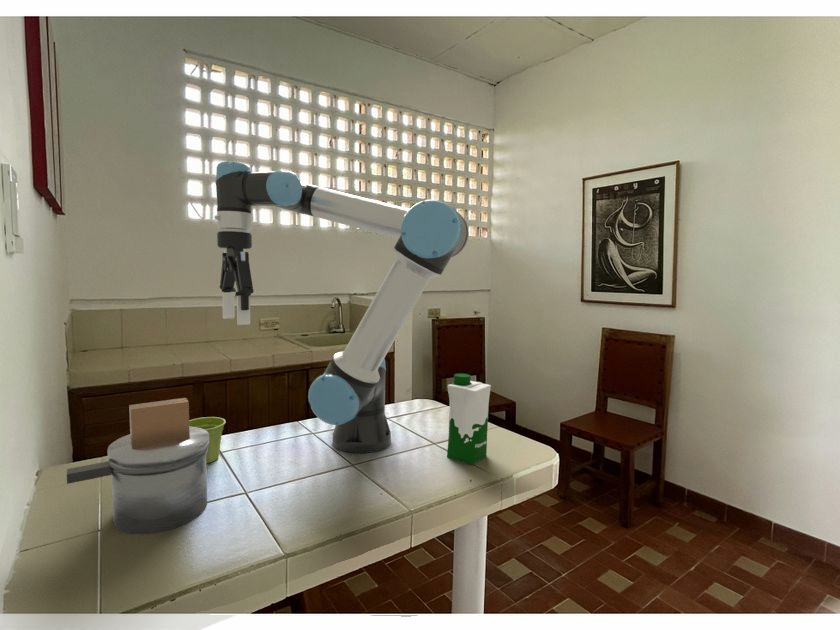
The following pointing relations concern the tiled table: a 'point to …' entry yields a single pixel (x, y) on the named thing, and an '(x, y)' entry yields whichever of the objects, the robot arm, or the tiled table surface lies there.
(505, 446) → the tiled table surface
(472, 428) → the milk carton
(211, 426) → the plant pot
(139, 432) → the lid
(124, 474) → the grey saucepan
